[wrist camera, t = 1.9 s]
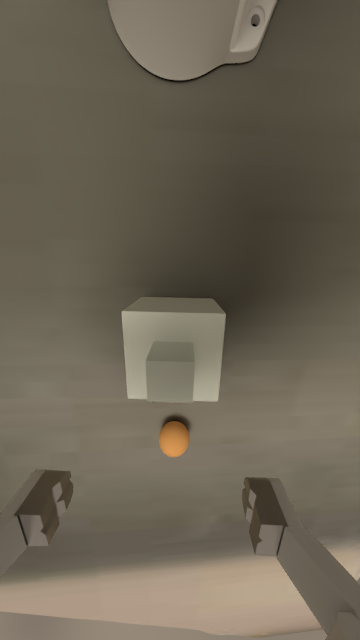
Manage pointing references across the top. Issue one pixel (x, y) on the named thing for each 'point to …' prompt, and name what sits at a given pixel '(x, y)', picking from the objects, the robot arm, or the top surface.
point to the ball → (174, 439)
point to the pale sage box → (173, 349)
